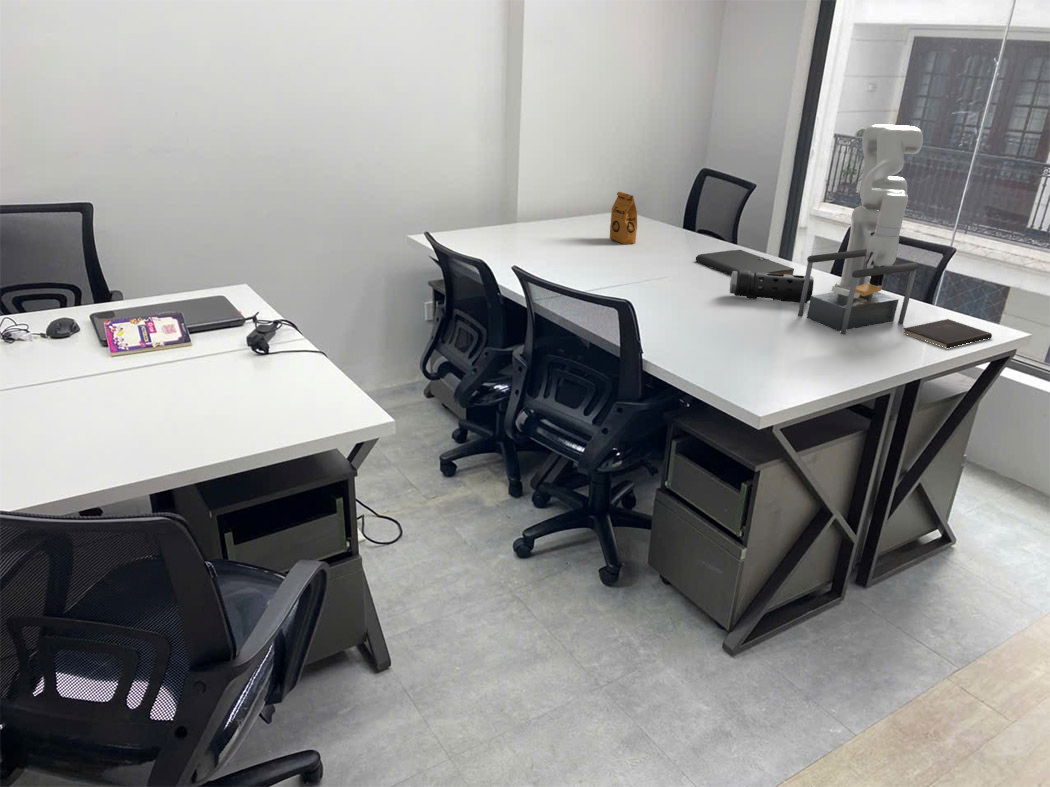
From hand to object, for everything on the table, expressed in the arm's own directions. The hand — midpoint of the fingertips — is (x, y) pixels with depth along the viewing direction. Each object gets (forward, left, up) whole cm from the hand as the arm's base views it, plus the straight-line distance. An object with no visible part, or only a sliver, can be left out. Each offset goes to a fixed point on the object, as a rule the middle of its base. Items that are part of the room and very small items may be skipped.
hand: (875, 284), depth 263 cm
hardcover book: (-10, +24, -12) cm, 28 cm away
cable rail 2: (+8, +9, -12) cm, 17 cm away
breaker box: (+8, 0, -12) cm, 14 cm away
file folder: (-1, -65, -12) cm, 66 cm away
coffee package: (+21, -123, -12) cm, 125 cm away
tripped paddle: (+3, 0, -1) cm, 4 cm away
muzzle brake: (+19, -28, -12) cm, 36 cm away
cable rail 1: (+8, -10, -12) cm, 17 cm away
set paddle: (+13, 0, -1) cm, 14 cm away
